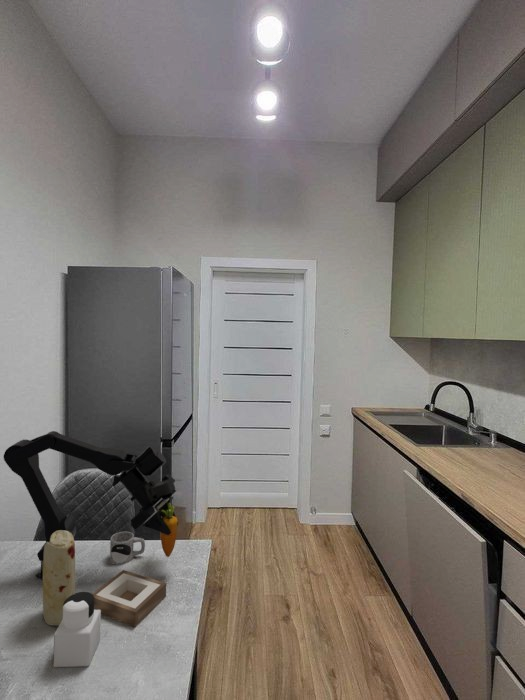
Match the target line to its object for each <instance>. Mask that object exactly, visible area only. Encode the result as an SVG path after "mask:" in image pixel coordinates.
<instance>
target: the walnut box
mask: <svg viewBox="0 0 525 700" xmlns="http://www.w3.org/2000/svg"><path fill="white" fill-rule="evenodd" d="M123 573H125V574H128V575H131V576H135V577H138V578H141V579H144V580H147V581H151V582H154V583H157V584H160V586H159V587H157V588H156V589H155V590H154V591H153V592H152V593H151V594H150V595H149V596H148V597H147V598H146V599H145V600H144V601H143V602H142V603H140V604H139V605H138V606H137V607H136V608H132V607H129V606H126V605H124V604H121V603H118V602H115V601H112V600H109V599H106V598H104V597H101V596H98V595H96V594H98V593H99V592H100V591H101V590H103V589H104V588H105V587H107V586H108V585H109V584H110V583H112V582H113V581H114V580H116V579H117V578H118V577H119V576H121V575H122V574H123ZM91 594H92V595H93V596H94V610H101V616H103V617H106V618H110V619H113V620H115V621H117V622H120V623H123V624H126V625H128V626H131V627H134V628H137V626H138V625H139V624H140V623H141V622H142V621H143V620H144V619H145V618H146V617H147V616H149V614H150V613H151V612H152V611H153V610H154V609H155V608H156V607H157V606H158V605H159V604H160V603H161V602H162V601H163V600H164V599H165V598H166V597H167V582H165V581H164V582H163V581H161V580H158V579H154V578H152V577H148V576H145V575H141V574H138V573H135V572H132V571H129V570H125V569H123V570H121V571H120V572H118V573H117V574H116V575H115V576H114V577H112V578H111V579H110V580H108V581H107V582H105V583H104V584H103V585H102V586H101V587H99V588H98V589H97V590H95V591H94V592H93V593H91ZM137 595H138V594H137V593H134V592H131V591H128V590H127V591H126V592H125V593H123V594H122V595H121V596H120V598H122V599H125V600H128V601H132V600H133V599H134V598H135V597H136V596H137Z"/></svg>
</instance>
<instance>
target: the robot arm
mask: <svg viewBox="0 0 525 700" xmlns="http://www.w3.org/2000/svg"><path fill="white" fill-rule="evenodd" d="M47 450H53V451H56V452H59V453H62V454H65V455H67V456H71V457H73V458H76V459H80V460H82V461H85V462H88V463H90V464H92V465H93V466H94V467H96V468H97V469H98V470H99V471H101V472H103V473H104V474H107V475H109V476H113V481H112V486H113V487H115V486H118V485H119V484H121V485H122V486H123V487H124V489H125V490H126V491H127V492H128V493H129V494H130V496H131V497H130V498H129V500H130V501H131V502H134V501H135V502H136V503H137V505H139V507H140V509H139V512H138V513H137V514H136V515H135V516H133V517H132V518H131V519H130V524H129V525H130V527H131V528H132V529H133V530H134V531H136V530H137V529H138V528H140V526H141V527H142V528H144V527H145V528H148V529H151V530H154V531H157V532H159V533H160V534H161V533H164V534H166V535H169V534H171V531H170V529H169V528H168V526H167V525H166V523H165V522H164V520H163V519H162V518H163V517H166V515H165V514H164V513H163V512H161V510H165V511H166V510H169V509H168V503H171V507H173V500H174V494H175V493H176V492H177V490H176V486H175V482H176V480H175V479H174V478H173V476H172V475H170V474H169V473H168V474H165V475H163V476H162V478H161V480H160V481H159V482H157V483H156V482H155V481H154V480H150V481H149V480H148V479H147V478H146V477H148V476H149V477H151V476H153V474H154V473H156V472H157V471H158V470H159V469H160V468H161V467H163V466H164V465H165V464H166V463H167V460H166V456H164V454H163V453H162V452H161V451H160V450H158V449H156V448H155V447H153V446H152V445H148V446H147V447H146V448H145V450H144V451H143V452H141V453H140V454H132V453H127V452H126V451H124V450H123V449H119V448H114V447H112V448H111V447H100V446H96V445H93V444H90V443H87V442H85V441H82V440H79V439H75V438H73V437H70V436H67V435H64V434H62V433H60V432H58V431H55V430H51V431H49V432H47V433H45V434H43V435H39V436H37V437H34V438H32V439H21V440H19V441H17V442H16V443H14V444H11V445H10V446H8V448H7V449H6V450H5V451H4V454H3V461H4V462H5V464H6V465H7V466H8V468H9V469H10V470H11V471H12V472H13V473H14V474H16V475H18V477H20V478H21V480H22V481H23V484H24V486H25V488H26V490H27V491H28V494H29V496H30V498H31V500H32V502H33V504H34V506H35V508H36V509H37V511H38V514H39V516H40V517H41V520H42V522H43V530H44V531H43V532H44V533H43V534H44V539H45V543H44V544H43V545H42V546H41V548H40V549H39V551H38V552H37V554H36V555H37V558H38V560H39V561H40V571H39V572H37V573H36V574H35V578H37V579H41V580H43V560H44V546H45V544H46V542H50V538H51V535H52V534H53V533H54V532H55V531H58V530H65V531H69V532H70V533H71V534H72V535H73V537H75V535H76V533H77V525H78V523H76V521H74V518H73V514H72V513H68V514H67V515H66V514H64V513H63V512H62V511H61V509H60V507H59V505H58V504H57V501H56V498H55V497H54V495H53V493H52V491H51V489H50V487H49V485H48V483H47V481H46V479H45V476H44V474H43V472H42V470H41V468H40V455H39V454H40V453H42V452H44V451H47ZM166 512H167V511H166ZM172 516H174V517H176V518H177V516H176V513H175V511H174V512H173V514H172ZM178 525H179V521H177V526H178Z"/></svg>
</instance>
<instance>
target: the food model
mask: <svg viewBox="0 0 525 700" xmlns="http://www.w3.org/2000/svg"><path fill="white" fill-rule="evenodd" d="M74 537H75V536H74ZM74 537H73V535H72V534H71V533H70V532H69V531H65V530H58V531H55V532H54V533H53V534H52V535H51V538H50V542H46V541H45V542H46V544H45V543H44V544H45V546H44V560H43V579H42V611H43V612H42V613H43V618H44V620H45V623H46V624H47V625H49V626H57V627H59V625H60V623H61V622H62V620H63V603H64V602H65V600H66V599H67V598H68V597H69V596H71V595H73V594H75V593H76V592H75V589H76V547H75V546H76V545H75V543H76V541H75V539H74Z"/></svg>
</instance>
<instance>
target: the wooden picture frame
mask: <svg viewBox="0 0 525 700" xmlns="http://www.w3.org/2000/svg"><path fill="white" fill-rule="evenodd" d="M159 586H160V584H157V583H154V582H151V581H147V580H144V579H141V578H138V577H135V576H131V575H128V574H125V573H123V574H122V575H121V576H119V577H118V578H117V579H116V580H114V581H113V582H112V583H110V584H109V585H108V586H107V587H105V588H104V589H103V590H101V591H100V592H99V593H98V594H96V595H98V596H101V597H104V598H106V599H109V600H112V601H115V602H118V603H121V604H124V605H126V606H129V607H132V608H136V607H137V606H138V605H139V604H140V603H142V602H143V601H144V600H145V599H146V598H147V597H148V596H149V595H150V594H151V593H152V592H153V591H154V590H155V589H156V588H157V587H159ZM127 590H128V591H131V592H134V593H137V594H138V595H137V596H136V597H135V598H134V599H133V600H132V601H128V600H125V599H122V598H120V596H121V595H122V594H123V593H125V592H126V591H127Z"/></svg>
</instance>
